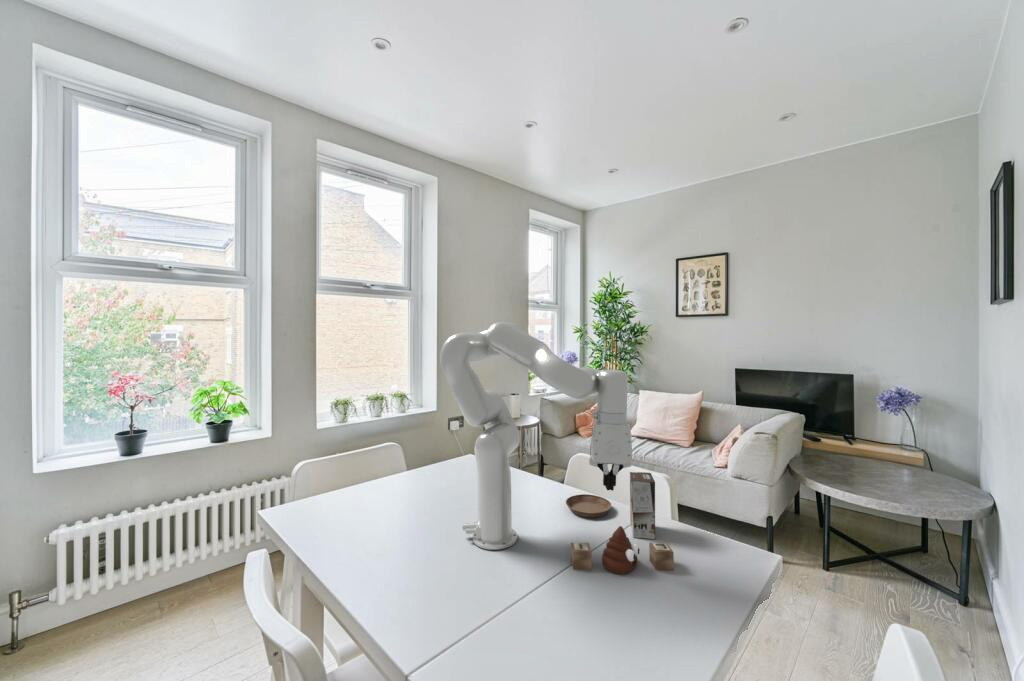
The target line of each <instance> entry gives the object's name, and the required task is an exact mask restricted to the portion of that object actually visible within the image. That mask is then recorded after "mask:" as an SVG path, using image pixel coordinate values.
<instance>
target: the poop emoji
mask: <svg viewBox="0 0 1024 681" xmlns="http://www.w3.org/2000/svg"><path fill="white" fill-rule="evenodd" d="M639 554H640V548H639V545H638V544H635V543H631V541H630V539H629V537H628V536H627V534H626V532H625V529H624V528H623V526H621V525H619V526H618V527H617V529H616V530H615V531H614V532H613V533H612V536H611V537H609V539H608V541H607V542H606V543H605V548H604V549H603V552H602V556H601V562H602V563H601V564H602V565H603V567H604V568H605V569H606V570H607V571H609V572H611V573H613V574H617V575H626V574H628V573H630V572H631V571H633V570H634V568H635V567H636V565H637V564H638V555H639Z"/></svg>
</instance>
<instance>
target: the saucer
mask: <svg viewBox="0 0 1024 681" xmlns="http://www.w3.org/2000/svg"><path fill="white" fill-rule="evenodd" d="M565 504H566V506H567V508H568V510H570V511H571V512H572V513H573V514H574V515H577V516H579V517H584V518H598V517H601V516H604V515H605V514H607V513H608V512H609V510H610V509H611V507H612V503H611V502H610V500H608V499H606V498H604V497H601V496H599V495H595V494H576V495H572V496H571V495H570V496H569V497H568V498H566V500H565Z"/></svg>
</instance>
